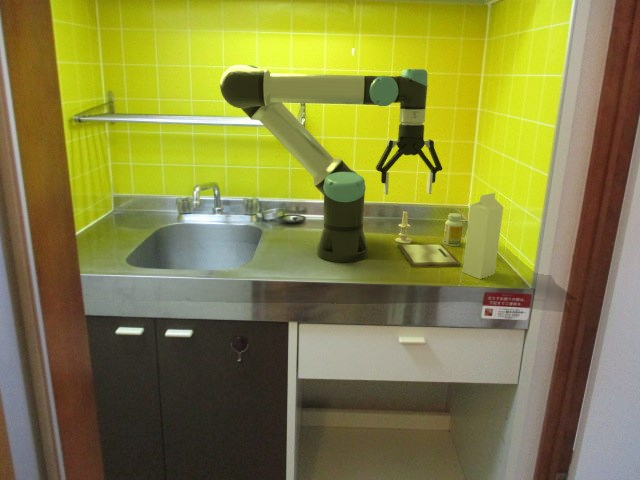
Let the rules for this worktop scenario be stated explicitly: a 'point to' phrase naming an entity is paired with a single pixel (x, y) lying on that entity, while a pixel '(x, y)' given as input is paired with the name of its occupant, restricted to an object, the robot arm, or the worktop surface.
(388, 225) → the worktop surface
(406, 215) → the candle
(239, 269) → the worktop surface
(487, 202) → the milk
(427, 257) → the writing board
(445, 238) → the supplement bottle
